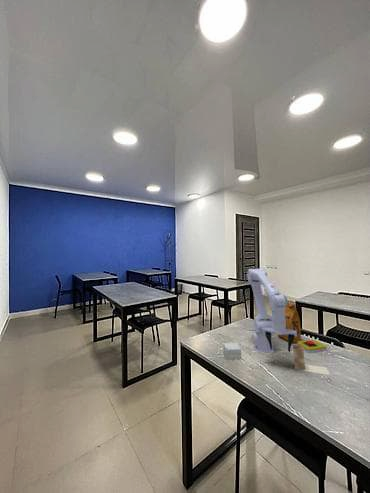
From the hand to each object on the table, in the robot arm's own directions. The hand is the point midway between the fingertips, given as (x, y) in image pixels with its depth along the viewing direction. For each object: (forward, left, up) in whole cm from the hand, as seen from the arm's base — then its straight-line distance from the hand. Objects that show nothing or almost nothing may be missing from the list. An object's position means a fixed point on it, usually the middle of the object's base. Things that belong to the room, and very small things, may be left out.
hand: (280, 349), depth 100 cm
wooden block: (+8, 0, -7) cm, 10 cm away
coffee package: (+6, +32, -7) cm, 33 cm away
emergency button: (+16, +22, -8) cm, 28 cm away
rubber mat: (+10, 0, -7) cm, 12 cm away
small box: (-23, +2, -8) cm, 24 cm away
